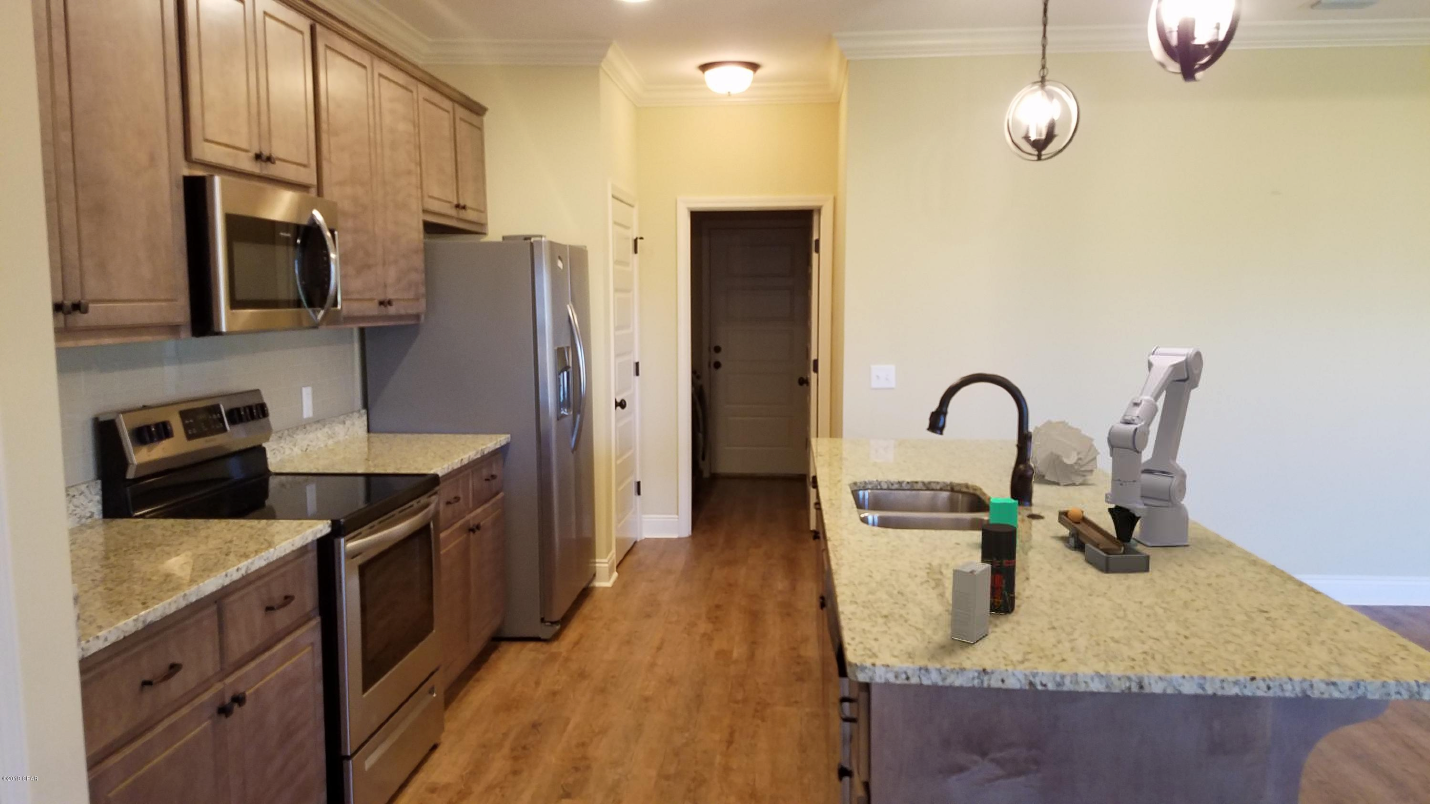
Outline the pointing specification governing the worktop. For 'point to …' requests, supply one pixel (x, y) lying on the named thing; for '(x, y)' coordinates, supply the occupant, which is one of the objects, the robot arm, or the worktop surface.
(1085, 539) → the tilt board
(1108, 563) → the tray
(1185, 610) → the worktop surface
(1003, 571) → the deodorant
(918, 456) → the worktop surface
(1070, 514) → the ball
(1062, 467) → the spiral staircase
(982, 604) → the skincare box
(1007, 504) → the candle
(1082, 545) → the pivot bracket
